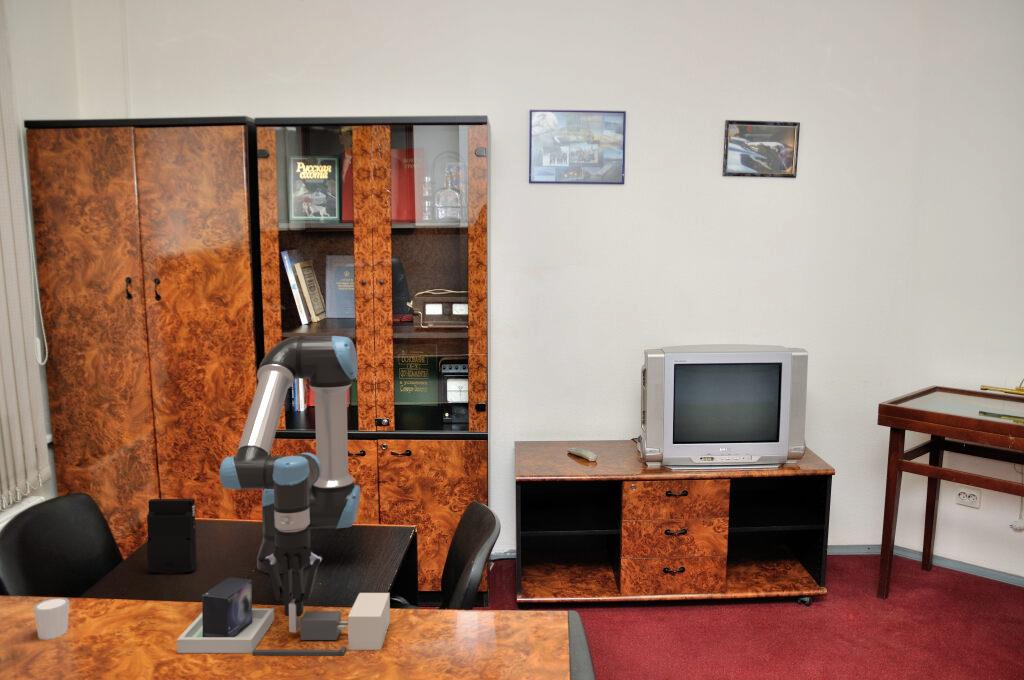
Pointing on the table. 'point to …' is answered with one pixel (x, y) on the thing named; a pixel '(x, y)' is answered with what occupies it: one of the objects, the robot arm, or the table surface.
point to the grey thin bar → (300, 652)
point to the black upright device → (171, 536)
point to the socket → (369, 621)
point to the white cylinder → (51, 618)
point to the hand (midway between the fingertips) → (294, 629)
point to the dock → (239, 644)
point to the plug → (321, 625)
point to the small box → (227, 608)
